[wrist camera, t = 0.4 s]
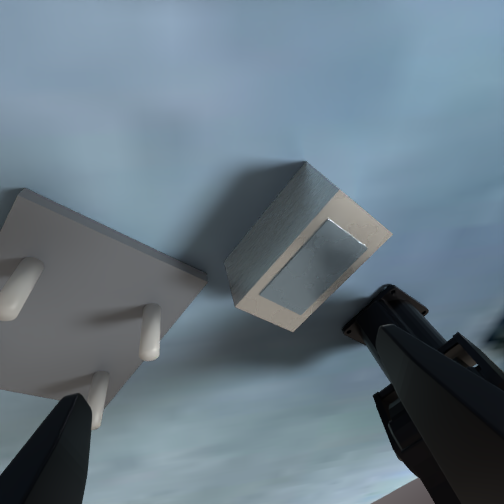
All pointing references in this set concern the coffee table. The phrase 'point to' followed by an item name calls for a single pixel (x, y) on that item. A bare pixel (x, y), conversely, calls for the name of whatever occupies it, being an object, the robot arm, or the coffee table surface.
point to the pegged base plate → (81, 303)
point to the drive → (301, 250)
